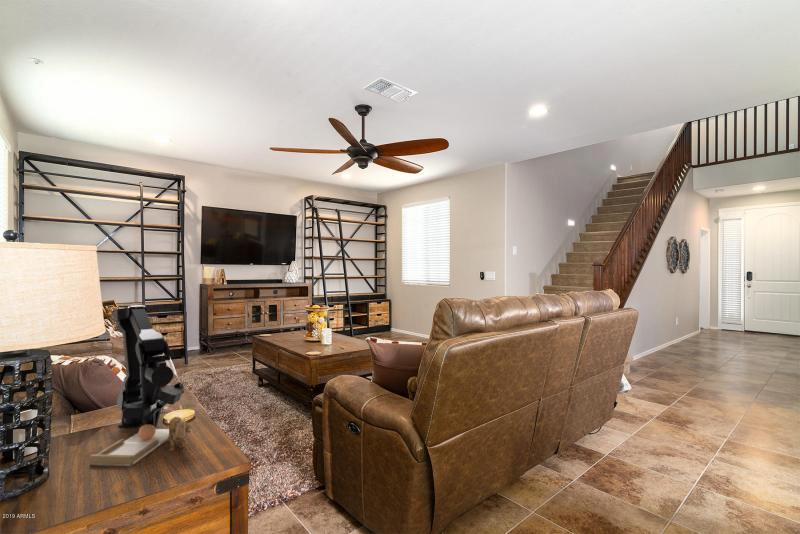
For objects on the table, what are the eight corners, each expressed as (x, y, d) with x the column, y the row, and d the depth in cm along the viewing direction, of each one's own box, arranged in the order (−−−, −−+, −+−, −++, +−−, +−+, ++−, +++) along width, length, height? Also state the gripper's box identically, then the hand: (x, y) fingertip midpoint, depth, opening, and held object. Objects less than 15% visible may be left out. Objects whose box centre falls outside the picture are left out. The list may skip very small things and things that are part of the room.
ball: (138, 442, 120) (132, 434, 117) (146, 429, 123) (141, 420, 121) (152, 443, 120) (147, 434, 117) (160, 429, 123) (155, 421, 121)
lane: (89, 464, 106) (89, 455, 106) (144, 430, 128) (144, 422, 128) (130, 466, 105) (130, 457, 105) (178, 431, 127) (178, 423, 127)
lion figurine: (193, 451, 115) (194, 420, 114) (172, 456, 111) (174, 425, 111) (178, 431, 126) (179, 403, 125) (159, 436, 122) (160, 407, 121)
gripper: (158, 389, 112) (160, 443, 113) (193, 369, 131) (195, 415, 132) (119, 389, 112) (121, 443, 113) (160, 369, 131) (161, 415, 132)
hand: (153, 428), depth 123 cm, fingers closed
